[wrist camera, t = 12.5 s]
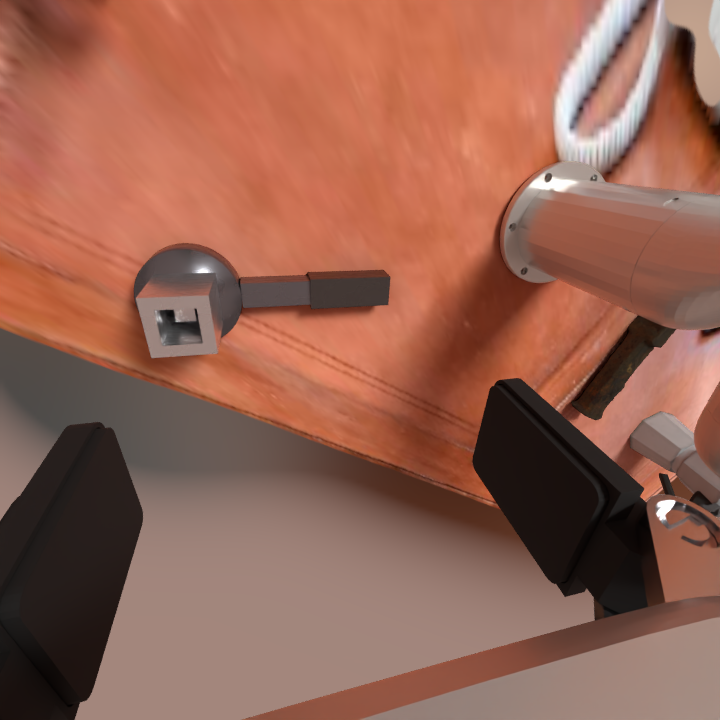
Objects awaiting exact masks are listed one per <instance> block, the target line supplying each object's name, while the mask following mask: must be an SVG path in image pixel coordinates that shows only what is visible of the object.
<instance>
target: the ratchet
mask: <svg viewBox="0 0 720 720" xmlns="http://www.w3.org/2000/svg"><path fill="white" fill-rule="evenodd" d="M177 273H216V278H217V285H218V292H219V299H220V306H221V312H222V319H223V328H222V334H221V337H223V336H224V335H226V334H227V333H228V332H229V331H230V330H231V329H232V328H233V327H234V326H235V324H236V322H237V321H238V318H239V316H240V313H241V307H242V303H243V308H252V307H272V306H293V305H310V307H311V309H319V308H339V307H358V306H378V305H388V300H389V287H390V276H389V275H388V274H387V273H386V272H385V271H384V270H367V271H333V272H308V275H297V276H266V277H241V281H240V278H239V276H238V274H237V272H236V270H235V269H234V267H233V266H232V265H231V264H230V263H229V261H227V260H226V259H225V258H224V257H223V256H222V255H220V254H219V253H217V252H216V251H214V250H212V249H210V248H207V247H205V246H201V245H197V244H189V243H182V244H175V245H171V246H168V247H165V248H163V249H161V250H159V251H158V252H157V253H155V254H154V255H153V256H152V257H151V258H150V259H149V260H148V261H147V262H146V263H145V265H144V266H143V267H142V268H141V270H140V271H139V273H138V275H137V277H136V280H135V284H134V298H135V303H136V306H137V309H138V305H137V302H136V297H137V296H138V294H139V293H140V292H141V291H142V289H143V288H144V287H145V285H146V284H147V283H148V282H149V280H150V279H151V278H152V276H153V275H154V274H177ZM138 311H139V309H138ZM174 313H175V318H176V322H184V321H197V318H198V313H197V308H195V309H174Z"/></svg>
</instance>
